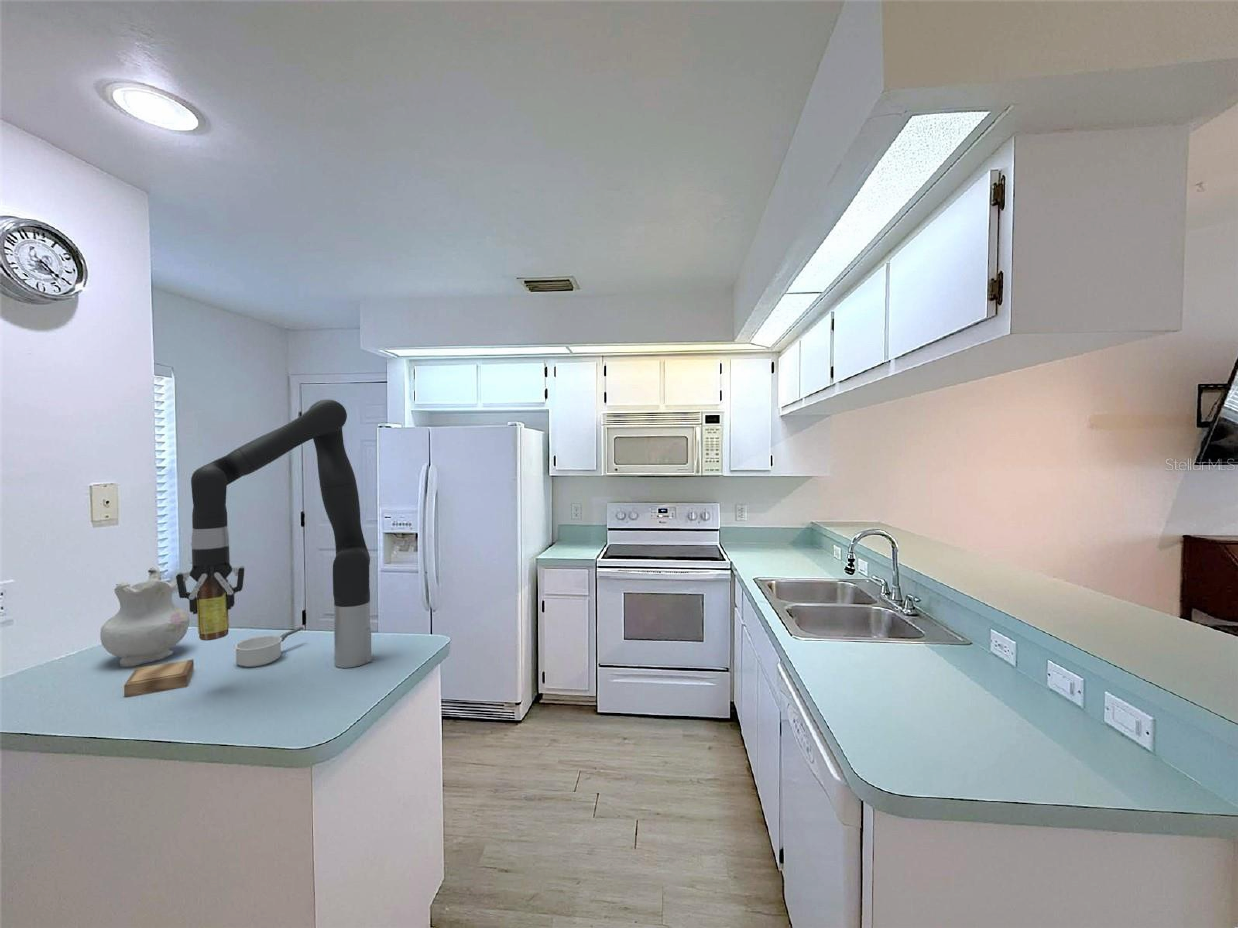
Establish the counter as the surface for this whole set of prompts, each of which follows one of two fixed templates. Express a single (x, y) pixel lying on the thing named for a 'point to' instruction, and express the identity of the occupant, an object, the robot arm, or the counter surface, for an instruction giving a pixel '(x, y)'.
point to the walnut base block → (159, 678)
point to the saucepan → (260, 649)
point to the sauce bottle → (212, 608)
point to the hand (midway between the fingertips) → (212, 610)
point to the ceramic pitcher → (144, 622)
